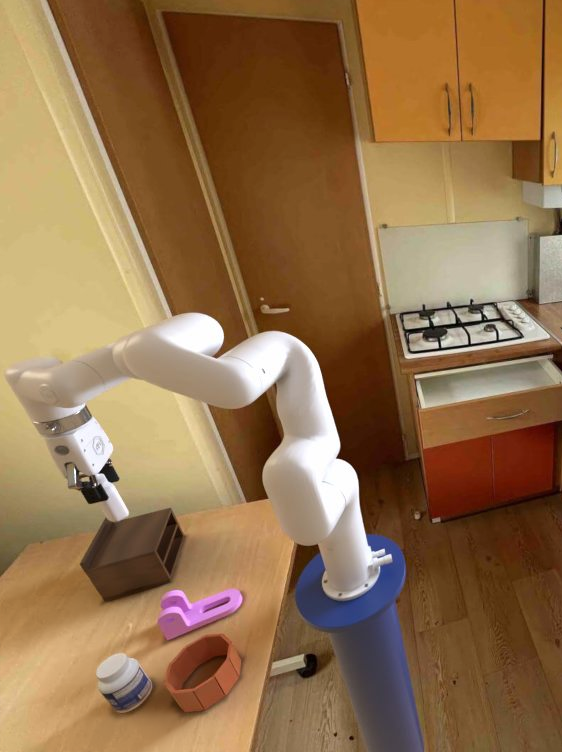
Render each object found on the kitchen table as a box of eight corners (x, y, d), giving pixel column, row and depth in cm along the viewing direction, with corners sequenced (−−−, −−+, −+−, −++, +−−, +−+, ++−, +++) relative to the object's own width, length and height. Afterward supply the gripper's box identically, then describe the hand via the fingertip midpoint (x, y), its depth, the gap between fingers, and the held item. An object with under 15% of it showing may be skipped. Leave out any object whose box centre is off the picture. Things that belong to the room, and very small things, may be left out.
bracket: (167, 640, 84) (154, 618, 81) (171, 617, 88) (158, 595, 85) (242, 609, 90) (232, 587, 87) (242, 588, 94) (232, 567, 91)
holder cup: (243, 643, 84) (234, 624, 81) (236, 697, 75) (226, 678, 72) (185, 664, 80) (173, 646, 77) (170, 723, 72) (157, 705, 69)
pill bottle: (111, 698, 75) (86, 667, 71) (148, 673, 79) (127, 642, 74) (118, 721, 72) (92, 690, 68) (156, 694, 76) (134, 663, 71)
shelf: (185, 536, 107) (168, 501, 102) (171, 581, 96) (150, 544, 90) (127, 552, 103) (105, 516, 98) (104, 601, 92) (79, 564, 86)
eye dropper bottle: (133, 503, 95) (110, 461, 90) (128, 519, 91) (103, 476, 85) (108, 510, 93) (83, 467, 88) (101, 527, 89) (74, 483, 83)
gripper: (68, 439, 75) (112, 514, 83) (105, 395, 89) (140, 463, 97) (12, 450, 72) (63, 526, 80) (59, 402, 86) (98, 471, 94)
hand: (104, 490), depth 89 cm, fingers closed on eye dropper bottle, 5 cm apart
